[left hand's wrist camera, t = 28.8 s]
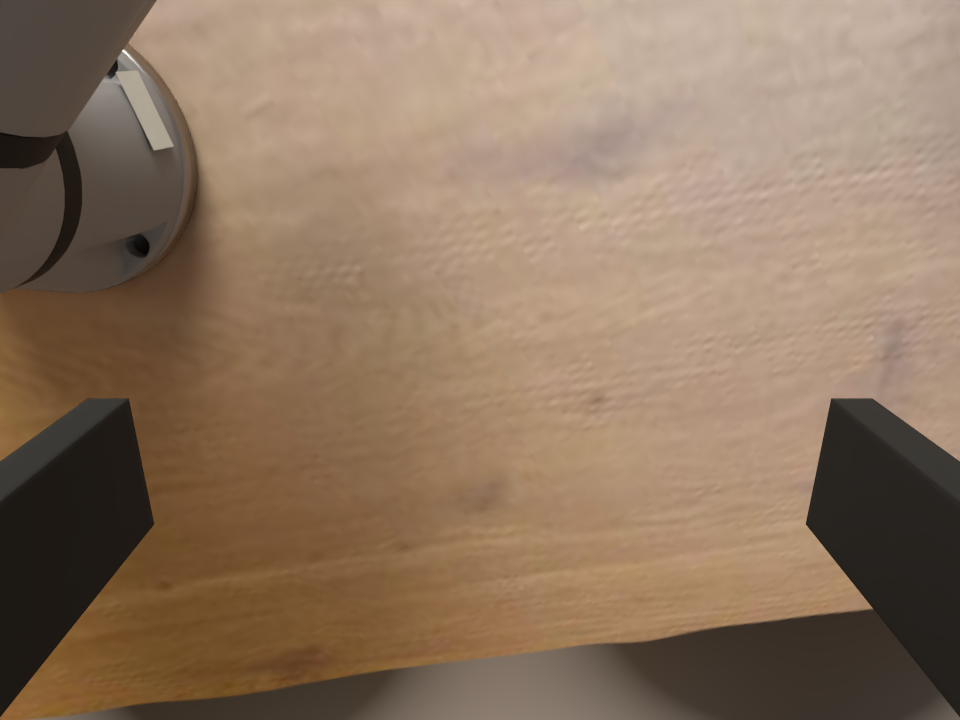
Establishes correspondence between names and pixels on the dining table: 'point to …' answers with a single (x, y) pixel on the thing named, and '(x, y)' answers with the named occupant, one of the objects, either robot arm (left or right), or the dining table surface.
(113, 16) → the left robot arm
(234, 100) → the dining table surface
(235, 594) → the dining table surface
